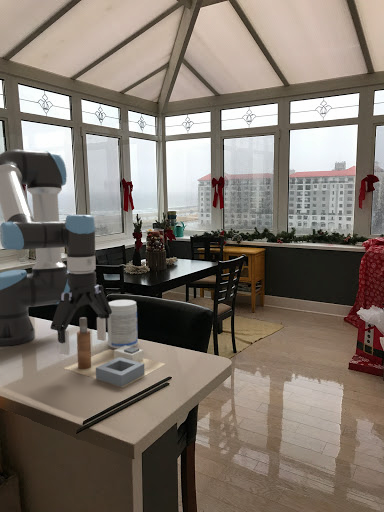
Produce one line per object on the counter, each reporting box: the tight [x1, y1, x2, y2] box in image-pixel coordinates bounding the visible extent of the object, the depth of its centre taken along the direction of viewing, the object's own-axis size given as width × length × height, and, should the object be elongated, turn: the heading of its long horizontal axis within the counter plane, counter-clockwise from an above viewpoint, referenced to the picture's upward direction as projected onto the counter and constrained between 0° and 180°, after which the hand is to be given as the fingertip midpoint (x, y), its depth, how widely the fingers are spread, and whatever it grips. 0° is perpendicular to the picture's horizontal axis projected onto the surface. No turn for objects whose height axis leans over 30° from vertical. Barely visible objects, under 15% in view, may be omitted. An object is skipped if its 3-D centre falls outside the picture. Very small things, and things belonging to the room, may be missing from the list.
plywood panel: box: [63, 348, 166, 388], centre depth 116 cm, size 22×18×1 cm
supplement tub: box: [107, 299, 139, 349], centre depth 134 cm, size 10×10×15 cm
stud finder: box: [113, 345, 144, 362], centre depth 121 cm, size 7×5×4 cm
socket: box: [95, 357, 144, 388], centre depth 109 cm, size 9×9×3 cm
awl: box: [76, 316, 92, 369], centre depth 115 cm, size 4×4×14 cm
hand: (84, 346), depth 115 cm, fingers open, 13 cm apart
